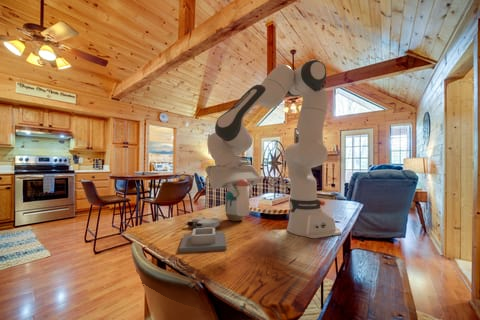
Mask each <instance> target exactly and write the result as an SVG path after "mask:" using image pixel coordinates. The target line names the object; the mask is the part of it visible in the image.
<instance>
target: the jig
mask: <svg viewBox="0 0 480 320" xmlns="http://www.w3.org/2000/svg"><path fill="white" fill-rule="evenodd" d="M225 234H226V233H225V231H217V232H216V227H215V228H213V227H210V228H197V227H195V228H193V229H192V232H191V233H184V235H183V237H182V240H181V242H180V245H179V249H178V253H179V254H180V253H181V254H183V253H184V254H185V253H196V252H197V253H198V252H200V253H201V252H212V251H213V252H214V251H215V252H217V251H227V241H226V235H225Z"/></svg>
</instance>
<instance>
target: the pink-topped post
mask: <svg viewBox="0 0 480 320" xmlns="http://www.w3.org/2000/svg"><path fill="white" fill-rule="evenodd" d="M237 190H238V191H239V193H240V194H239V196H237V215H238V216H244V217H247V216H250V195H249V183H248V181H247V180H245V179H241V180H239V181H238V182H237Z"/></svg>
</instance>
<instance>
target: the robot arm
mask: <svg viewBox="0 0 480 320" xmlns="http://www.w3.org/2000/svg"><path fill="white" fill-rule="evenodd" d="M326 79H327V67H326V65H325V64H324V62H323V61H322V60H319V59H310V60H308V61H306V62H304V63H303V64H302V65H299V66H298V67H297V68H295V69H292V67H291V66H289V65H286V64H279V65H277V66H276V67H274V68H273V69H272V70H271V71H270V73H268V75H267V76H265V78H264V80H263V81H262V82H261V83H260V84H256V85H253V86H252V87H251V88H249V89H248V90H247V91H246V92H245V93H244V94H243V95H242V96H241V97H240V98H239V99H238V100H237V101H236V102H235V103H234V104H233V105H232V106H231V107H230V108H229V109H228V110H227V111H226V112H224V113H223V114H222V115H220V116H219V117H218V118H217V120H216V122H215V126H214V131H215V132H213V133H211V134H210V135H209V136H208V138H207V149H208V152H209V153H210V157H211V158H212V160H214V161H213V162H214V164H215V165H208V166H206V167H205V172H206V174H207V178H208V182H209V185H210V187H211V188H212V189H213V190H219V189H227V191H230V192H231V193H232V194H233V196H234V197H237V196H239V194H240V193H239V191H238V190H236V189H235V188H233V187H237V182H238V181H239V180H241V179H245V180H247V181H248V183H249V196H250V195H253V194H254V191H253V189H252V186H257V185H258V184H259V182H260V180H261V176H260V174H259V173H258V171H257V169H256V168H255V167H254V165H252V161H251V160H250V159H249V158H248V159H247V158H244V157H241V156H240V155H241V154H243V153H245V152H246V151H248V150H249V149H250V148H251V147H252V144H253V136H252V134H251V133H250V131H249V130H248V129H247V127H246V126H245V125H244V118H245V117H246V116H247V115H248V114H249V113H250V112H251V110H253V108H254V107H255V106H256V105H258V106H260V107H262V108H264V109H265V108H266V109H273V108H276V107H278V106H279V105H280V104H281V103H282V102H283V101H284V98H285V97H286V96H287V95H288V96H290V97H295V98H296V97H299V96H301V99H302V100H301V101H302V103H301V107H300V111H299V116H298V119H297V123H296V129H297V132H298V142H296V143H292V144H290V145H289V146H288V147H286V148H285V149H284V151H283V159H284V161H285V163H286V165H287V169H288V175H289V181H290V182H289V184H290V197H289V204H288V205H289V218H288V223H287V226H286V227H287V228H286V230H287V231H288V232H289V233H291V234H292V235H293V234H294V235H296V236H301V237H307V238H309V239H317V238H319V239H320V238H325V237H331V236H332V235H333V236H339V235H342V231H341V229H340V228H339V227H337V226H336V222H335V219H334V217H333V216H332V215H330V213H329V212H327V211H325V209H323V208H322V207H324V206H325V205H326V201H325V200H319V198H318V194H317V193H318V191H317V190H318V189H317V188H318V187H317V185H318V184H317V179H316V177H315V176H314V174H313V172H312V171H313V170H312V168H317V167H319V166H322V165H324V163H326V161H327V159H328V154H329V152H328V148H327V147H326V145H325V144H324V139H323V135H324V134H323V131H324V125H325V120H326V116H327V111H328V103H329V101H328V99H329V96H328V91H326V89H324V88H325V85H326V83H327V81H326ZM333 236H332V237H333Z"/></svg>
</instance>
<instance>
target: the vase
mask: <svg viewBox="0 0 480 320" xmlns="http://www.w3.org/2000/svg"><path fill="white" fill-rule="evenodd" d="M233 188H235V189H236V190H237V187H233ZM224 205H225V206H224V207H225V208H224V210H225V212H224V213H225V216H226V218H227V219H228V220H229V221H233V222H238V221H241V220H244V217H245V216H238V215H237V197H234V196H233V194H232V193H231V192H230V191H228V190H227V191H226V192H225V200H224Z"/></svg>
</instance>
